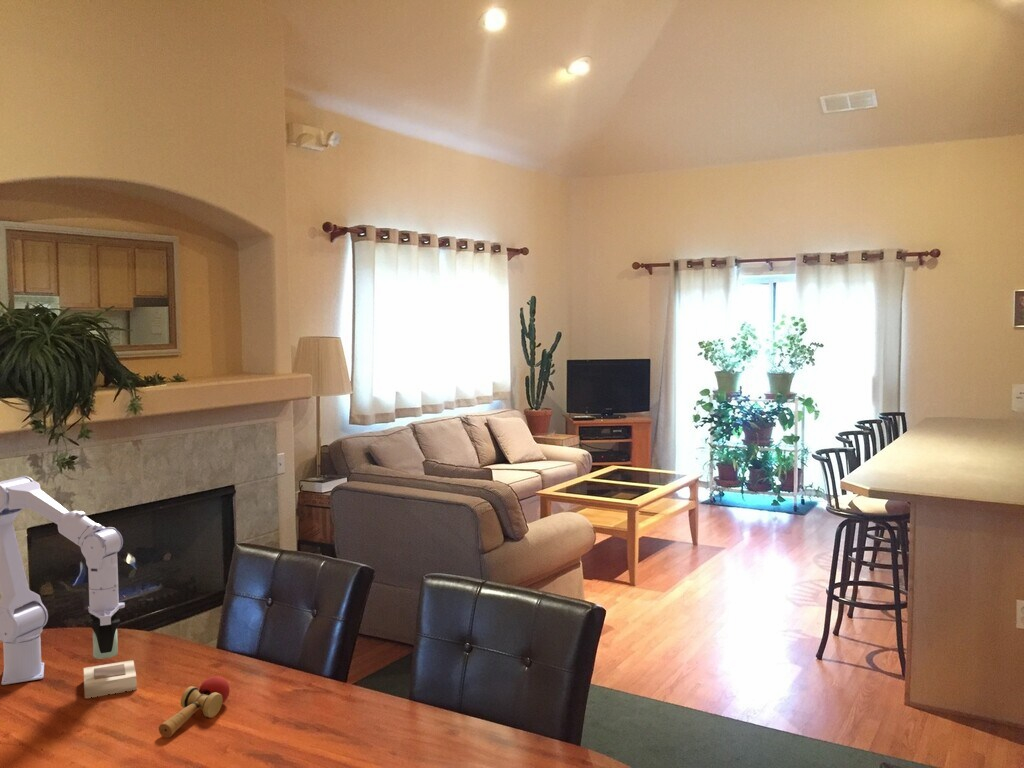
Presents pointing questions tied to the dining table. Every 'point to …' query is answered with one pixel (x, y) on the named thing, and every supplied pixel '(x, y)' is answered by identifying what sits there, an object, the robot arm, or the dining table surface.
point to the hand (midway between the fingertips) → (105, 647)
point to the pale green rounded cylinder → (114, 652)
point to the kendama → (198, 703)
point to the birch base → (109, 679)
